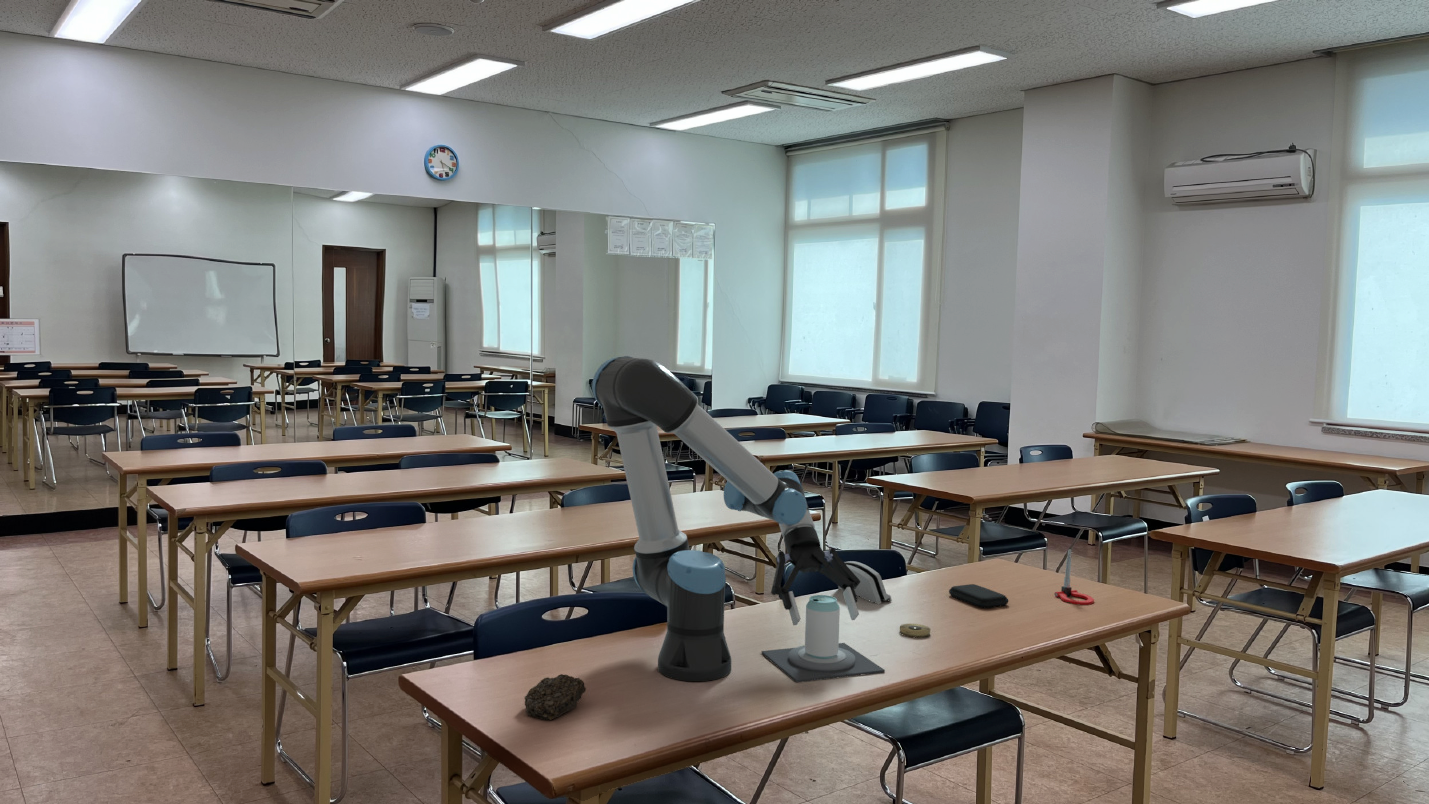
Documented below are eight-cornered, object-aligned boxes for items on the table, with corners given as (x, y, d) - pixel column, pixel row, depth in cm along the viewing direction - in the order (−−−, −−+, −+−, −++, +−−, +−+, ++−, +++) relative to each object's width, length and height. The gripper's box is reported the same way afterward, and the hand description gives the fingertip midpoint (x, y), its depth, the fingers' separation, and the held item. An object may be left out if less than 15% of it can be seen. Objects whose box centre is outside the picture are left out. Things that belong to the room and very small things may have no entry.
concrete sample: (556, 693, 188) (557, 667, 188) (594, 706, 182) (594, 680, 182) (509, 710, 180) (510, 683, 179) (547, 725, 173) (547, 697, 173)
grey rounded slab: (893, 601, 256) (884, 567, 253) (879, 610, 254) (870, 575, 251) (852, 586, 270) (844, 553, 268) (839, 593, 268) (830, 561, 265)
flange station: (796, 682, 196) (796, 673, 196) (761, 653, 213) (761, 645, 213) (884, 672, 203) (885, 663, 203) (844, 644, 220) (844, 636, 220)
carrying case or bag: (1015, 606, 255) (976, 592, 268) (1015, 595, 255) (977, 581, 268) (982, 611, 250) (945, 596, 263) (983, 599, 250) (945, 585, 263)
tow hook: (1100, 605, 259) (1076, 594, 267) (1104, 557, 257) (1080, 547, 266) (1074, 607, 256) (1051, 596, 264) (1078, 559, 254) (1054, 549, 263)
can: (824, 662, 203) (826, 605, 202) (797, 653, 208) (799, 598, 207) (844, 654, 208) (846, 598, 207) (818, 646, 213) (820, 591, 212)
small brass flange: (909, 638, 225) (909, 633, 225) (893, 629, 232) (894, 624, 232) (936, 636, 228) (936, 630, 228) (919, 627, 234) (920, 621, 234)
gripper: (843, 540, 227) (872, 623, 214) (742, 545, 219) (766, 632, 206) (855, 522, 222) (885, 606, 209) (752, 527, 213) (777, 615, 201)
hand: (826, 619), depth 207 cm, fingers open, 13 cm apart
